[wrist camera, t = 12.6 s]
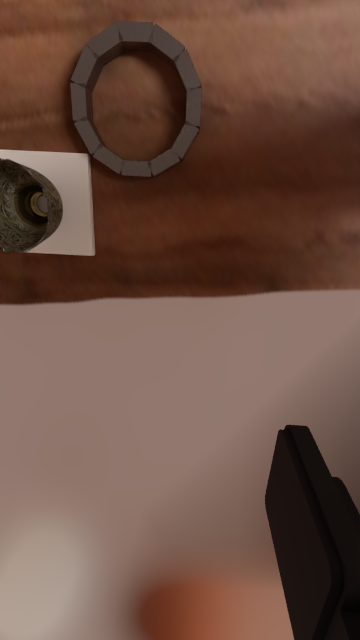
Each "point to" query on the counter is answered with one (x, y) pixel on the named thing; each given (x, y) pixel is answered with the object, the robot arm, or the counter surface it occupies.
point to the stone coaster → (64, 199)
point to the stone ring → (88, 72)
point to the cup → (26, 207)
